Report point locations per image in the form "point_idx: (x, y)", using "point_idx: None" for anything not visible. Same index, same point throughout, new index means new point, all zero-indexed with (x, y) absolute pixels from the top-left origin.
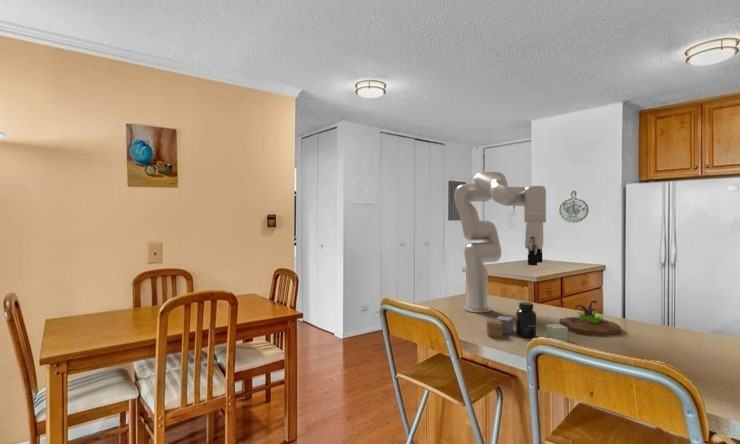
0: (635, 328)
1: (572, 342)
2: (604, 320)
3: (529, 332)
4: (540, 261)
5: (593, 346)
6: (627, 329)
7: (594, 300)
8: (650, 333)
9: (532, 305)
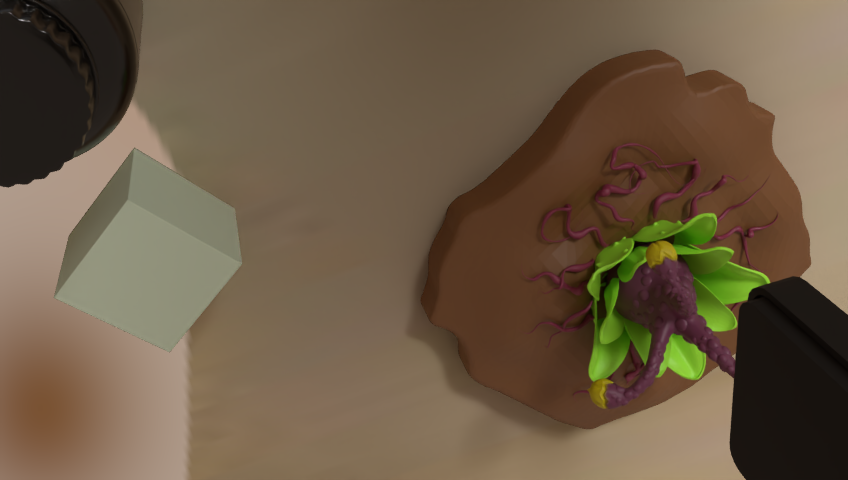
0: None
1: None
2: None
3: None
4: (747, 452)
5: (204, 416)
6: (707, 388)
7: None
8: (680, 475)
9: (6, 182)
